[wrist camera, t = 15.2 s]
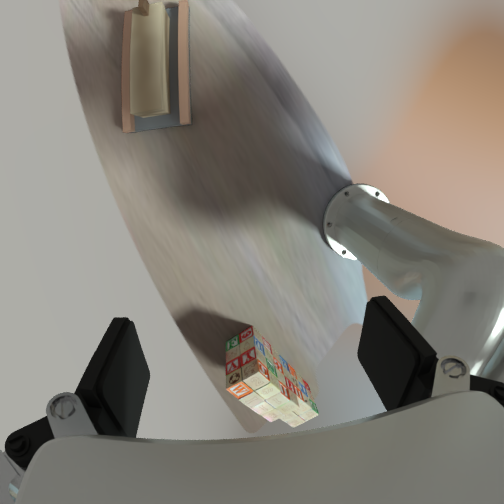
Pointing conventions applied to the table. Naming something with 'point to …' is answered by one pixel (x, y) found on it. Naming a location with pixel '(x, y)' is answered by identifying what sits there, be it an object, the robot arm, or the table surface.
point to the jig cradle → (177, 74)
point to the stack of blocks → (266, 380)
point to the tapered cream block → (149, 60)
